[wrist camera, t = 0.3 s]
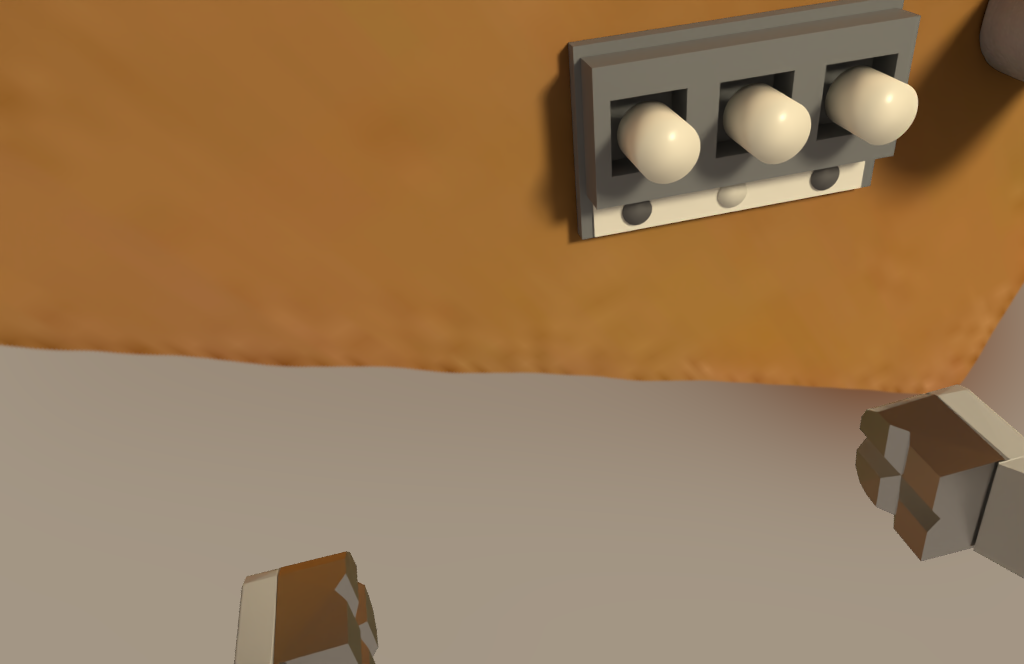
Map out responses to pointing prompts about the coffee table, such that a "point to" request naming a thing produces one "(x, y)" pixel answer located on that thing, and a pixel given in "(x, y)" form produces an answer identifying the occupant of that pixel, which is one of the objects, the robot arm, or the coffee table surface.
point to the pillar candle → (1004, 37)
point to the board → (704, 95)
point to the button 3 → (871, 104)
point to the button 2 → (766, 123)
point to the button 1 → (658, 142)
